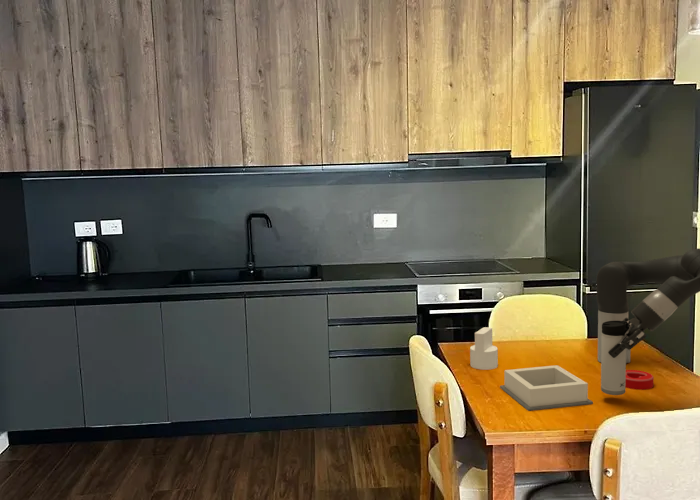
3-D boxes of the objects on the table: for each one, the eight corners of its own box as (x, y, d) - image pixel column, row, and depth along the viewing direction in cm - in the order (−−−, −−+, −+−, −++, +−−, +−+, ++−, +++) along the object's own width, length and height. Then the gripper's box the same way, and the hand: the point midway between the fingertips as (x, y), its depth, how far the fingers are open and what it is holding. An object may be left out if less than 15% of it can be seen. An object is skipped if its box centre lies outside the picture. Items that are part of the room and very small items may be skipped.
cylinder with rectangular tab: (492, 371, 204) (492, 335, 202) (466, 367, 208) (465, 332, 207) (501, 363, 211) (501, 328, 210) (475, 360, 216) (475, 326, 214)
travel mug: (629, 395, 171) (630, 324, 168) (603, 395, 172) (604, 324, 169) (623, 387, 177) (624, 318, 174) (599, 387, 178) (599, 318, 175)
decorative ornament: (623, 377, 194) (623, 367, 193) (657, 383, 188) (657, 373, 187) (613, 386, 186) (613, 376, 186) (648, 392, 180) (648, 382, 180)
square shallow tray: (558, 381, 191) (558, 363, 191) (592, 403, 173) (593, 384, 172) (500, 387, 188) (499, 369, 187) (528, 410, 170) (528, 390, 169)
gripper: (673, 326, 162) (624, 369, 166) (656, 313, 176) (611, 353, 180) (652, 306, 163) (603, 350, 166) (636, 294, 177) (592, 335, 180)
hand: (607, 351), depth 173 cm, fingers closed on travel mug, 6 cm apart
